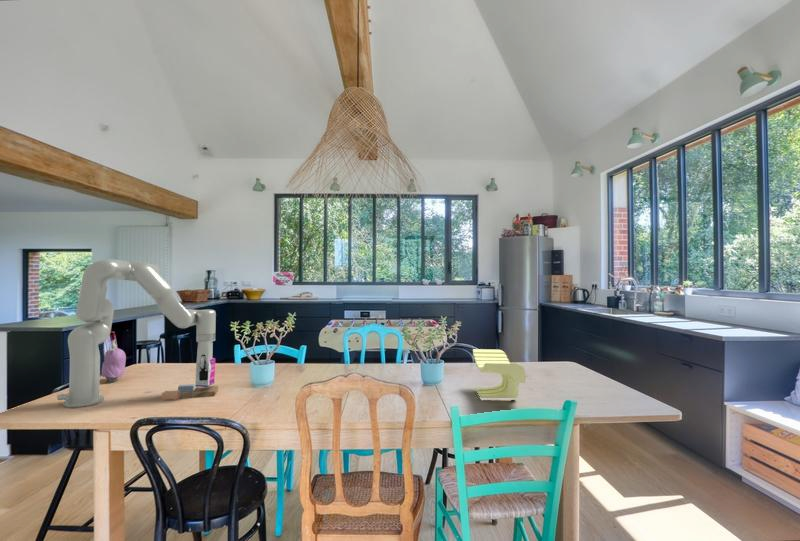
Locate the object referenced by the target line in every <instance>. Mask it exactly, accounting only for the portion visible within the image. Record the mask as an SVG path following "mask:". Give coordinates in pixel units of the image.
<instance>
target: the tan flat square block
mask: <svg viewBox="0 0 800 541" xmlns="http://www.w3.org/2000/svg"><path fill="white" fill-rule="evenodd" d="M218 391H219V385H210V386H208V387H195V389H194V391H193V392H190V393H191V395H190V396H191V399H194V398H207V397H215V396H216V395H217V393H218Z"/></svg>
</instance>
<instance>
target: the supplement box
mask: <svg viewBox="0 0 800 541" xmlns="http://www.w3.org/2000/svg"><path fill="white" fill-rule="evenodd" d="M200 363H201V361H200ZM195 364H196V365H195V366H196V367H195V383H194V384H195V388H196V387H208V386H213V385H214V384H215V376H216V373H215V372H216V358H215V357H212V359H211V360H210V361H209V364H208V365H207V371H208V379H207V380H202V381H200V380H199V371H200V364H199V365H197V360H196V363H195ZM204 364H206V362H204ZM205 368H206V367H205Z"/></svg>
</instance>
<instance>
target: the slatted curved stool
mask: <svg viewBox="0 0 800 541" xmlns="http://www.w3.org/2000/svg"><path fill="white" fill-rule="evenodd" d="M472 356H473V359H474V362H475V366H476V367H477V369H479V372H480V373H491V374H498V375H501V383H500V384H499V385H497V386H493V387H479V388H478V387H476V388H475V391H476V390H477V392H478V394H479V395H480V397H481V398H516V399H517V398H518V396H519V385H520V383H526V370H525V368H524V366H522V365H521V364H519V363H511V362H510V360H509V358H508V357H509V356H508V355H507V353H506V352H505V351H503V350H502V349H490V348H489V349H484V348H480V349H479V348H475V349H474V348H473V349H472ZM478 394H477V395H478ZM480 397H479V398H480Z"/></svg>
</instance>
